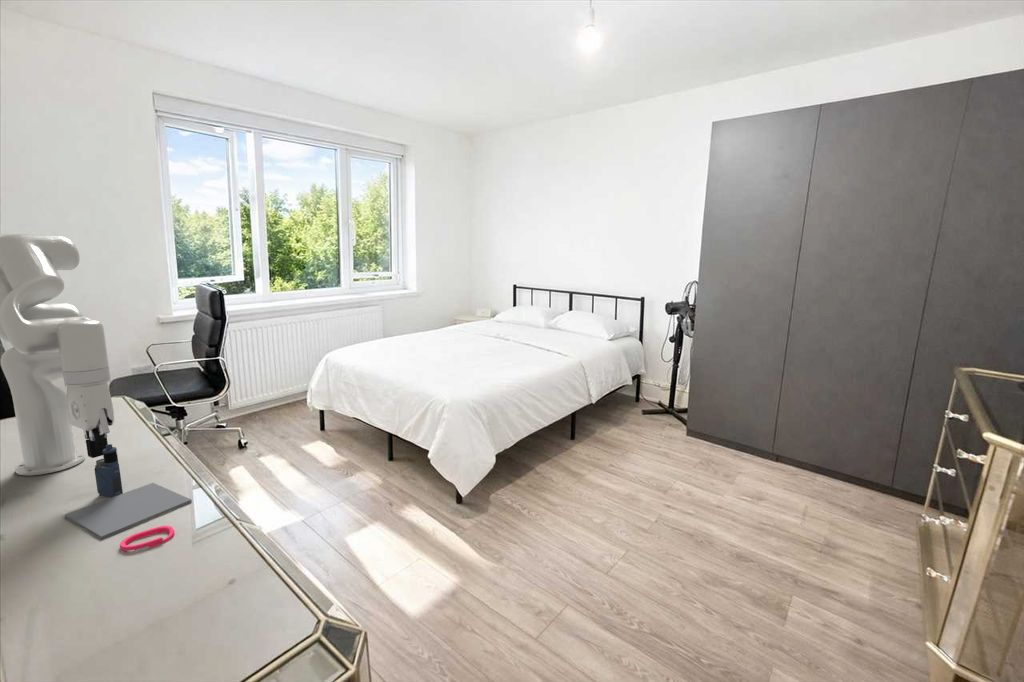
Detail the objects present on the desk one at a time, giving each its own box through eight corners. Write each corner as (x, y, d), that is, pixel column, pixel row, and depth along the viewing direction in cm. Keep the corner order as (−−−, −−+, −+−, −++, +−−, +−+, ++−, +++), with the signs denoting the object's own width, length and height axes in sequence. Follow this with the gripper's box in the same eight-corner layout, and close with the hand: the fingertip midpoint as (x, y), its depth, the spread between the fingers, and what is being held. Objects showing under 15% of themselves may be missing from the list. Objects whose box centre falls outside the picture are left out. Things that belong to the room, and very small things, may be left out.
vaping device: (114, 498, 102) (107, 447, 101) (95, 496, 104) (88, 445, 102) (126, 493, 105) (119, 443, 103) (107, 490, 106) (100, 441, 104)
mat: (64, 517, 95) (64, 514, 95) (153, 485, 109) (152, 482, 109) (101, 539, 88) (101, 536, 88) (191, 502, 102) (191, 499, 102)
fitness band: (121, 558, 83) (119, 551, 83) (120, 543, 87) (119, 536, 87) (176, 541, 88) (175, 534, 88) (172, 528, 92) (172, 521, 92)
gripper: (49, 375, 101) (62, 454, 104) (81, 384, 95) (93, 468, 98) (92, 369, 108) (103, 443, 111) (124, 376, 101) (135, 455, 104)
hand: (98, 455), depth 104 cm, fingers closed
